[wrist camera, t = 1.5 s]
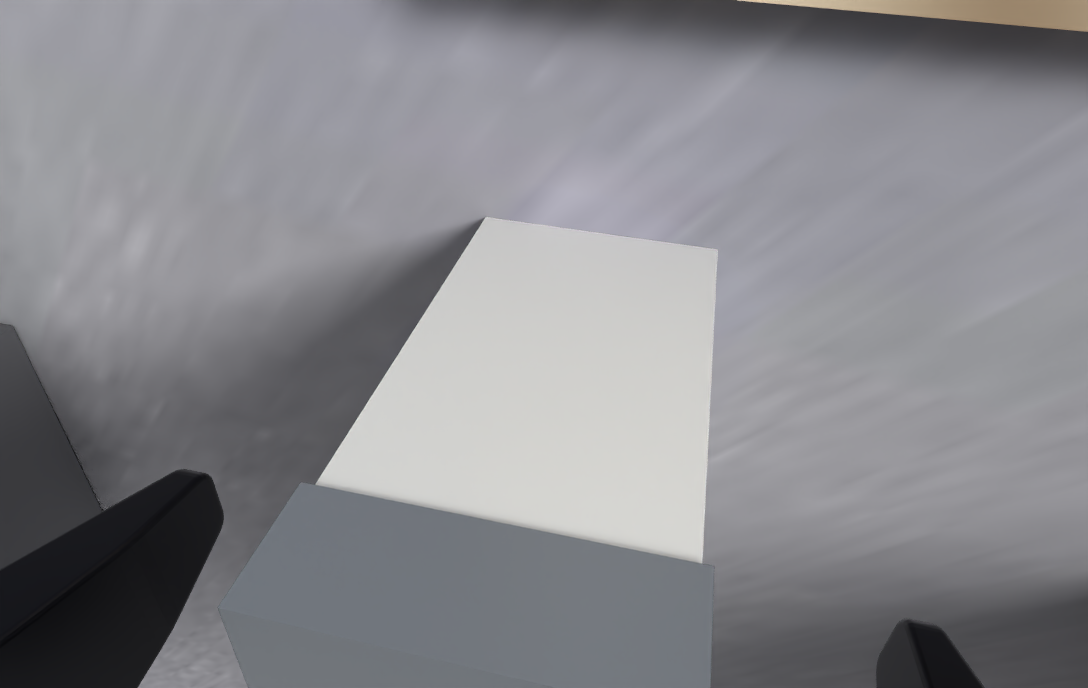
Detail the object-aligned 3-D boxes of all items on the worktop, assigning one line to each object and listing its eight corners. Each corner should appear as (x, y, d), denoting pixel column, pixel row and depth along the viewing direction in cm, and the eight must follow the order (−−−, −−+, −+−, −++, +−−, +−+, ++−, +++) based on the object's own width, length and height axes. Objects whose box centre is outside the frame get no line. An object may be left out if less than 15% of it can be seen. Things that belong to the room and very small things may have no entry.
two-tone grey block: (724, 244, 12) (710, 723, 6) (684, 430, 14) (642, 907, 8) (480, 211, 13) (217, 607, 6) (482, 394, 15) (295, 811, 9)
